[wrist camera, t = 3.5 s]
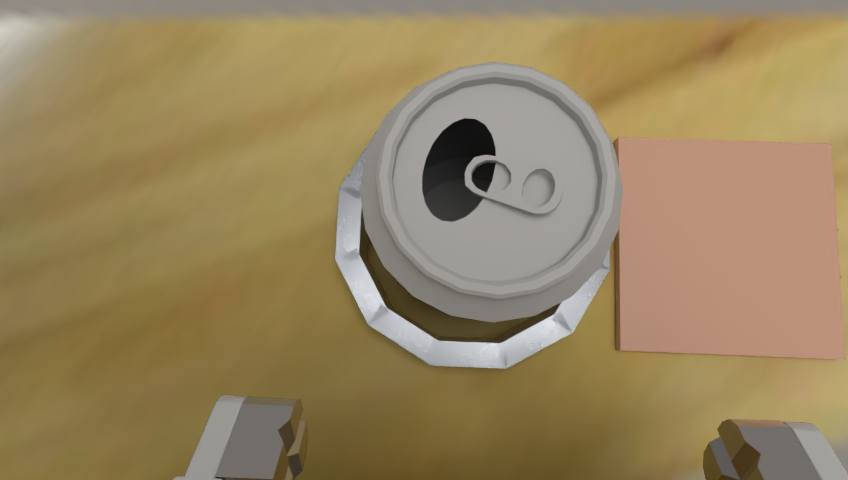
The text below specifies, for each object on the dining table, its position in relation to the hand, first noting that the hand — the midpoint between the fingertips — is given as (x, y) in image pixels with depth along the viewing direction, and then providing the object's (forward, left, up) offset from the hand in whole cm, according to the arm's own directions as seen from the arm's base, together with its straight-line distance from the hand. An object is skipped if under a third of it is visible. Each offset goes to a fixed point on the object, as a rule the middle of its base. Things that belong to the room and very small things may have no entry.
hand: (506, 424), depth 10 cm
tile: (+12, +6, -14) cm, 19 cm away
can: (0, +6, -14) cm, 15 cm away
